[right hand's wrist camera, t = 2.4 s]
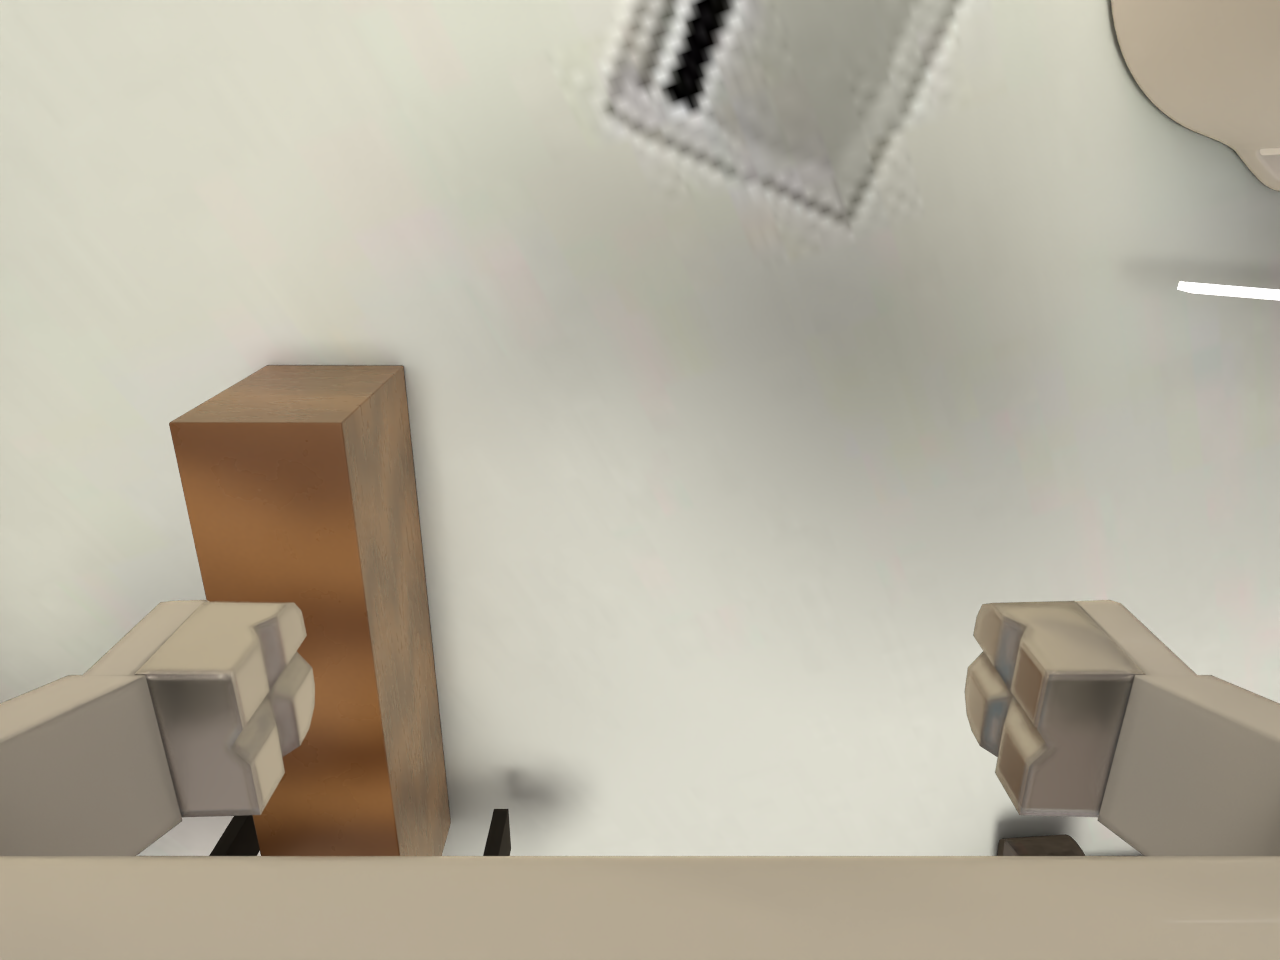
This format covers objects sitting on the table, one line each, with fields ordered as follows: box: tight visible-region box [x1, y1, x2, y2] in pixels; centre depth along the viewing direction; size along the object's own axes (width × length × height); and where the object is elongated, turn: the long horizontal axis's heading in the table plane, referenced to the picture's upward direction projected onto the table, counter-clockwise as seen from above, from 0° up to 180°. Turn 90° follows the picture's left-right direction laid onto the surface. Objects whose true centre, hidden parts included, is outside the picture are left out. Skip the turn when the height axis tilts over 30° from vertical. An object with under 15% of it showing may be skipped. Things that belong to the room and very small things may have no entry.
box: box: [169, 365, 451, 856], centre depth 41 cm, size 28×6×9 cm, turn 0°
